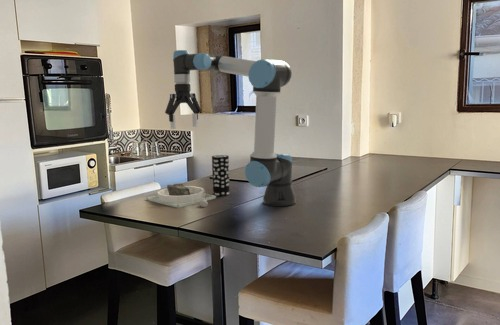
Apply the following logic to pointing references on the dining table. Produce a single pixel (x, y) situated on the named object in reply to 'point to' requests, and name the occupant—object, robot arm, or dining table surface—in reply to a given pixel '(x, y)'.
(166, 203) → the tray
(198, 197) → the bowl
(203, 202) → the pebble
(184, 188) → the stone
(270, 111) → the robot arm
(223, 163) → the spotted tube
